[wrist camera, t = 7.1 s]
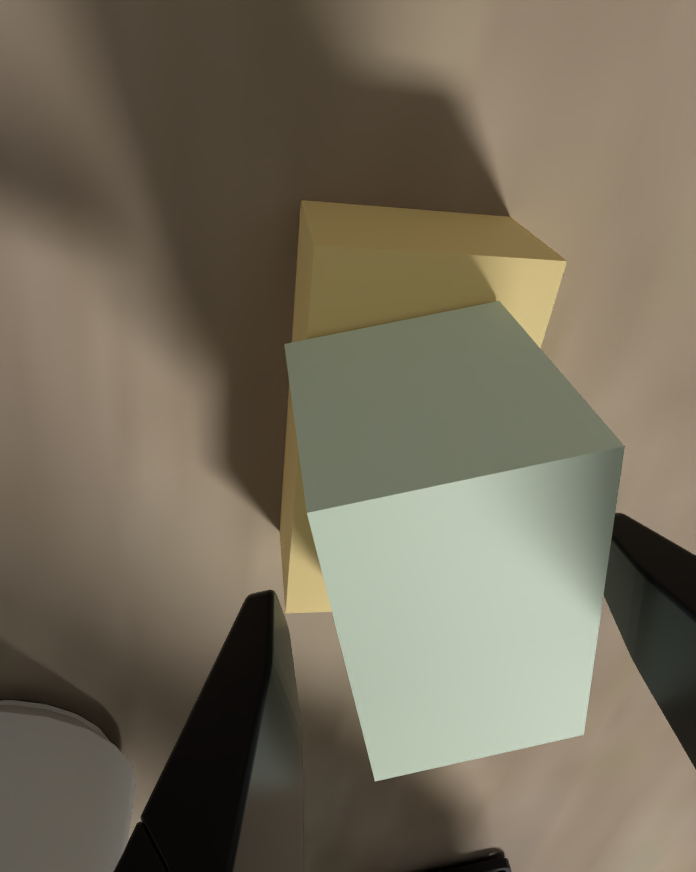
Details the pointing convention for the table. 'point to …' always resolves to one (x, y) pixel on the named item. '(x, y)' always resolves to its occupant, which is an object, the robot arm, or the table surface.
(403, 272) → the ochre brick
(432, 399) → the sage brick
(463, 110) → the table surface
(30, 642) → the table surface
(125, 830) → the can
